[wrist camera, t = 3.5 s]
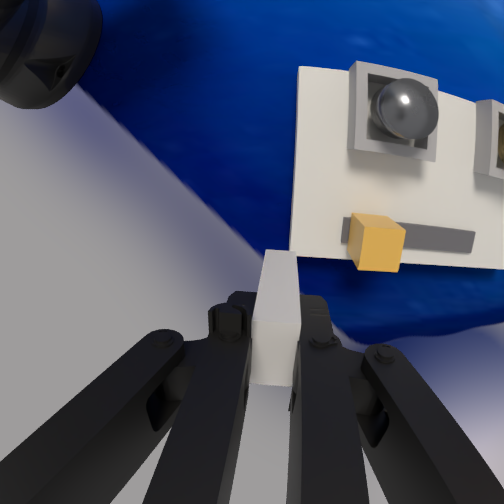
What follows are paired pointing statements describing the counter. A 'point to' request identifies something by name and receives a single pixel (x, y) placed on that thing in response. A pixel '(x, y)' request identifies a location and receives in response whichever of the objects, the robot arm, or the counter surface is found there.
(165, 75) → the counter surface
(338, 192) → the console
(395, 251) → the slider knob
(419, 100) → the grey button
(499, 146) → the brass button
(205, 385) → the robot arm
